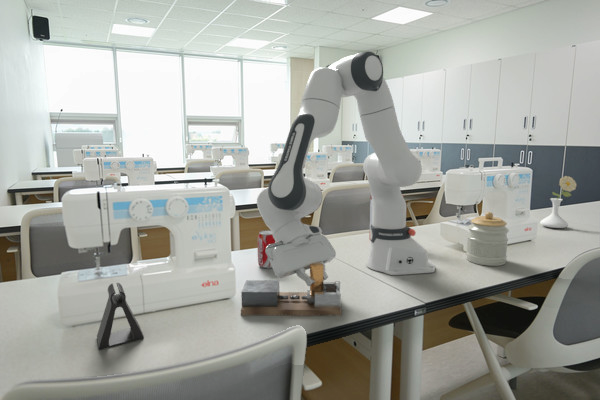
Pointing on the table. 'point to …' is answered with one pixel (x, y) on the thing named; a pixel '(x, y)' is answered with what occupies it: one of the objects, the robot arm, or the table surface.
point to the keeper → (329, 295)
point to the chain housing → (260, 293)
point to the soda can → (264, 247)
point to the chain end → (318, 276)
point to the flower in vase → (554, 218)
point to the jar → (487, 240)
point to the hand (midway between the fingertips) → (318, 281)
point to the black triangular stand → (104, 333)
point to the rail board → (292, 307)
